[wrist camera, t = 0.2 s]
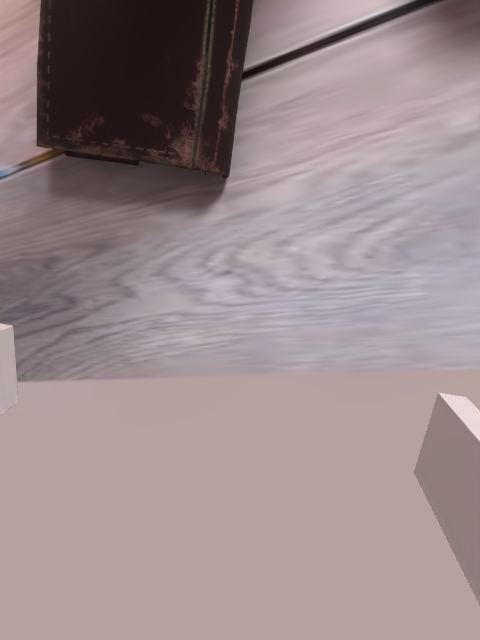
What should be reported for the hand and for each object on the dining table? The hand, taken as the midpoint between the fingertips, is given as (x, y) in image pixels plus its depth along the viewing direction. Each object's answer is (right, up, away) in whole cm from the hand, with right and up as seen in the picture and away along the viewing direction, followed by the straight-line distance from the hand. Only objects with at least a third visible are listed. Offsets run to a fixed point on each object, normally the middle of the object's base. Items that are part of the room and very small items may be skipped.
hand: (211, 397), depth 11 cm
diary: (-7, +30, +23) cm, 39 cm away
